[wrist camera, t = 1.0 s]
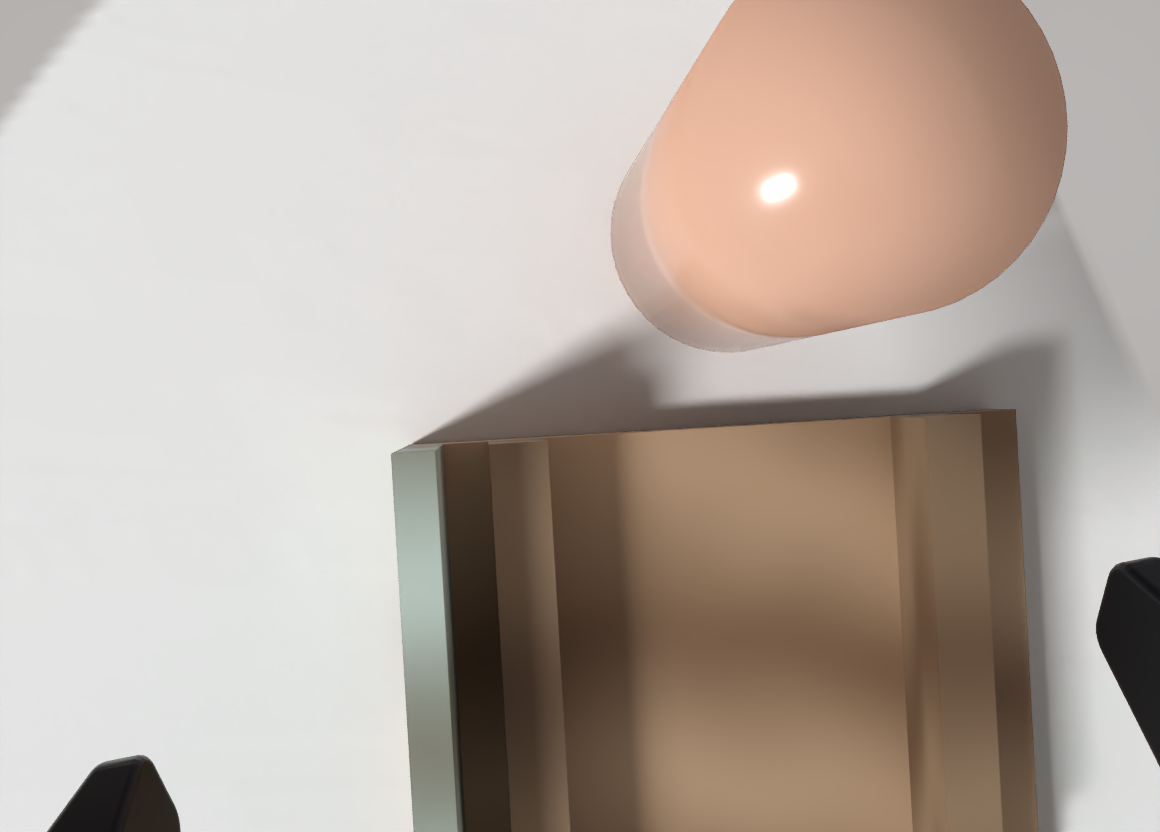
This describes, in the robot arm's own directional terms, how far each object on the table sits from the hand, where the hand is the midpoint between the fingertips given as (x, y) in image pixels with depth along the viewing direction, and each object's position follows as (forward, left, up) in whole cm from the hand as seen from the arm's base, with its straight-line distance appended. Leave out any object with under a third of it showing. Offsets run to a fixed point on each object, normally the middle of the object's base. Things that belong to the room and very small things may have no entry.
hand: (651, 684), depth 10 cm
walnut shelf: (-3, -4, -15) cm, 16 cm away
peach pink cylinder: (+7, -3, -15) cm, 17 cm away
